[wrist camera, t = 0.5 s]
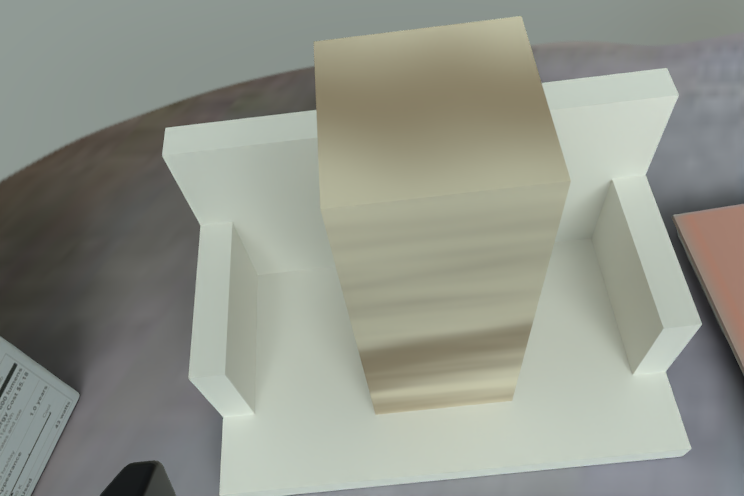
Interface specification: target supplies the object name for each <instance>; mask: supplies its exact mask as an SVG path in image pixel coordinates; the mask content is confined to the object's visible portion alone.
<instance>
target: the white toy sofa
mask: <svg viewBox="0 0 744 496" xmlns="http://www.w3.org/2000/svg"><path fill="white" fill-rule="evenodd" d="M542 86H543V90H544V93H545V96H546V100H547V103H548V106H549V110H550V113H551V116H552V120H553V123H554V126H555V130H556V133H557V136H558V140H559V143H560V146H561V149H562V153H563V156H564V159H565V163H566V166H567V169H568V173H569V176H570V179H571V183H570V186H569V190H568V194H567V198H566V201H565V205H564V209H563V212H562V216H561V220H560V224H559V227H558V231H557V235H556V239H555V242H554V246H553V250H552V254H551V257H550V261H549V265H548V268H547V272H546V276H545V280H544V283H543V287H542V291H541V295H540V298H539V302H538V306H537V309H536V313H535V317H534V321H533V324H532V328H531V332H530V336H529V339H528V343H527V347H526V350H525V354H524V358H523V362H522V365H521V369H520V373H519V377H518V380H517V384H516V388H515V392H514V395H513V399H512V401H506V402H496V403H486V404H476V405H466V406H457V407H447V408H437V409H427V410H418V411H408V412H398V413H388V414H378V415H375V411H374V407H373V403H372V400H371V396H370V392H369V389H368V385H367V381H366V377H365V374H364V370H363V366H362V362H361V359H360V355H359V351H358V348H357V344H356V340H355V336H354V333H353V329H352V325H351V322H350V318H349V314H348V310H347V307H346V303H345V299H344V296H343V292H342V288H341V284H340V281H339V277H338V273H337V270H336V266H335V262H334V258H333V255H332V251H331V247H330V244H329V240H328V236H327V232H326V229H325V225H324V221H323V218H322V214H321V210H320V188H319V163H318V138H317V112H316V110H311V111H303V112H295V113H286V114H278V115H269V116H261V117H253V118H244V119H236V120H228V121H219V122H211V123H202V124H194V125H186V126H177V127H169V128H165V136H164V144H163V152H162V157H163V158H164V160H165V162H166V164H167V166H168V167H169V169H170V171H171V173H172V175H173V177H174V178H175V180H176V182H177V184H178V186H179V187H180V189H181V191H182V193H183V195H184V196H185V198H186V200H187V202H188V204H189V205H190V207H191V209H192V211H193V213H194V214H195V216H196V218H197V220H198V222H199V224H200V225H201V227H200V239H199V252H198V264H197V277H196V289H195V302H194V314H193V327H192V340H191V352H190V365H189V377H188V378H189V380H190V381H191V382H192V383H193V384H194V385H195V386H196V387H197V389H198V390H199V391H200V392H201V393H202V394H203V395H204V396H205V397H206V399H207V400H208V401H209V402H210V403H211V404H212V405H213V406H214V408H215V409H216V410H217V411H218V412H219V413H220V414H221V415H222V416H223V431H222V451H221V472H220V493H219V495H220V496H284V495H294V494H304V493H314V492H325V491H335V490H345V489H355V488H365V487H376V486H386V485H396V484H406V483H416V482H427V481H437V480H447V479H457V478H467V477H478V476H488V475H498V474H508V473H518V472H528V471H539V470H549V469H559V468H569V467H579V466H590V465H600V464H610V463H620V462H630V461H641V460H651V459H661V458H671V457H681V456H683V455H685V454H686V453H687V452H688V451H689V450H690V449H691V446H690V443H689V440H688V437H687V434H686V431H685V428H684V425H683V422H682V419H681V416H680V413H679V410H678V407H677V404H676V401H675V398H674V395H673V392H672V389H671V386H670V383H669V380H668V377H667V374H666V371H667V369H668V368H669V367H670V365H671V364H672V363H673V362H674V360H675V359H676V358H677V356H678V355H679V354H680V353H681V351H682V350H683V349H684V347H685V346H686V345H687V343H688V342H689V341H690V340H691V338H692V337H693V336H694V334H695V333H696V332H697V330H698V329H699V328H700V327H701V325H702V322H701V320H700V317H699V314H698V312H697V309H696V307H695V304H694V301H693V299H692V296H691V293H690V291H689V288H688V286H687V283H686V280H685V278H684V275H683V272H682V270H681V267H680V264H679V262H678V259H677V257H676V254H675V251H674V249H673V246H672V243H671V241H670V238H669V236H668V233H667V230H666V228H665V225H664V222H663V220H662V217H661V214H660V212H659V209H658V207H657V204H656V201H655V199H654V196H653V193H652V191H651V188H650V186H649V183H648V180H647V178H646V172H647V170H648V168H649V165H650V163H651V161H652V158H653V156H654V153H655V151H656V149H657V146H658V144H659V141H660V139H661V137H662V134H663V132H664V129H665V127H666V125H667V122H668V120H669V117H670V115H671V113H672V110H673V108H674V105H675V103H676V101H677V98H678V96H679V94H678V92H677V89H676V87H675V85H674V83H673V81H672V78H671V76H670V74H669V72H668V70H667V68H663V69H655V70H647V71H638V72H630V73H621V74H613V75H605V76H596V77H588V78H580V79H571V80H563V81H554V82H546V83H542Z"/></svg>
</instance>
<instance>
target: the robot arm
mask: <svg viewBox="0 0 744 496" xmlns="http://www.w3.org/2000/svg"><path fill="white" fill-rule="evenodd" d="M100 496H176V494H175V492H174V490H173V487H172V485H171V483H170V480H169V478H168V476H167V473H166V471H165V469H164V467H163V465H162V464H161V463H160V462H159V461H155V460H154V461H144V462H134V463H130V464H128V465H127V466H126V467H124V468H123V469H122V470H121V472H120V473H119V474H118V475H117V476H116V477H115V478H114V480H113V481H112V482H111V483H110V484H109V485H108V486H107V488H106V489H105V490H104V491H103V492H102V493H101V494H100Z"/></svg>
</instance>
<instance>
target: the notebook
mask: <svg viewBox="0 0 744 496" xmlns="http://www.w3.org/2000/svg"><path fill="white" fill-rule="evenodd" d="M672 219H673V222H674V224H675V226H676V228H677V230H678V233H677V235H678V238H679V240H680V242H681V244H682V246H683V248H684V251H685V253H686V255H687V257H688V259H689V261H690V264H691V266H692V268H693V270H694V272H695V274H696V277H697V279H698V281H699V283H700V285H701V288H702V290H703V292H704V294H705V296H706V298H707V301H708V303H709V305H710V307H711V309H712V311H713V314H714V316H715V318H716V320H717V322H718V324H719V327H720V329H721V331H722V333H723V335H724V336H726V338H727V340H728V343H729V345H730V347H731V349H732V351H733V353H734V356H735V358H736V360H737V362H738V364H739V366H740V369H741V371H742V373H743V375H744V204H739V205H732V206H726V207H720V208H714V209H707V210H701V211H695V212H688V213H682V214H676V215H673V216H672Z"/></svg>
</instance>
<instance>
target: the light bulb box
mask: <svg viewBox="0 0 744 496" xmlns="http://www.w3.org/2000/svg"><path fill="white" fill-rule="evenodd" d="M79 396H80V395H79V393H78V392H77V391H76V390H74V389H73V388H71V387H70V386H69V385H67V384H66V383H64V382H63V381H61V380H60V379H59V378H57V377H56V376H55V375H53V374H52V373H50V372H49V371H48V370H46V369H45V368H44V367H42V366H41V365H40V364H38V363H37V362H35V361H34V360H33V359H31V358H30V357H29V356H27V355H26V354H24V353H23V352H22V351H20V350H19V349H18V348H16V347H15V346H14V345H12V344H11V343H9V342H8V341H6V340H5V339H4V338H2V337H1V336H0V496H31V494H32V492H33V490H34V488H35V486H36V484H37V482H38V480H39V478H40V476H41V474H42V472H43V470H44V468H45V466H46V464H47V462H48V460H49V458H50V456H51V454H52V451H53V449H54V447H55V445H56V443H57V441H58V439H59V437H60V435H61V433H62V431H63V429H64V427H65V425H66V423H67V421H68V419H69V417H70V415H71V413H72V411H73V409H74V407H75V405H76V403H77V401H78V399H79Z"/></svg>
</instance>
